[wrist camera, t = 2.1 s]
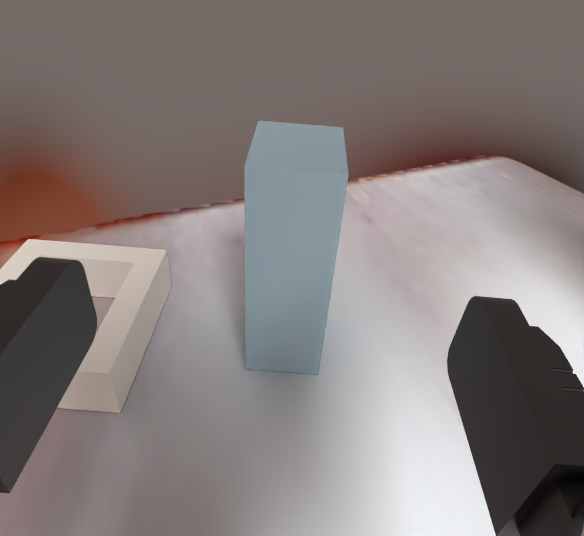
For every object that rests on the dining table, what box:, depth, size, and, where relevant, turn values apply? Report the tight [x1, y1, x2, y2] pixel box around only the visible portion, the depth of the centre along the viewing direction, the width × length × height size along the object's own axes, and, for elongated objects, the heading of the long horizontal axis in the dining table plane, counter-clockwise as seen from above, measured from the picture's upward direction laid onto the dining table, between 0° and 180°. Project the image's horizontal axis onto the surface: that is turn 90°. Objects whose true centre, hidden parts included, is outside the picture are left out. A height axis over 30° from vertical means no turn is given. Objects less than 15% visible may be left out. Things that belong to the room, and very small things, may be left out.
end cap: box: [0, 239, 172, 413], centre depth 25 cm, size 9×10×3 cm
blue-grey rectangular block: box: [245, 121, 349, 375], centre depth 23 cm, size 4×5×12 cm
